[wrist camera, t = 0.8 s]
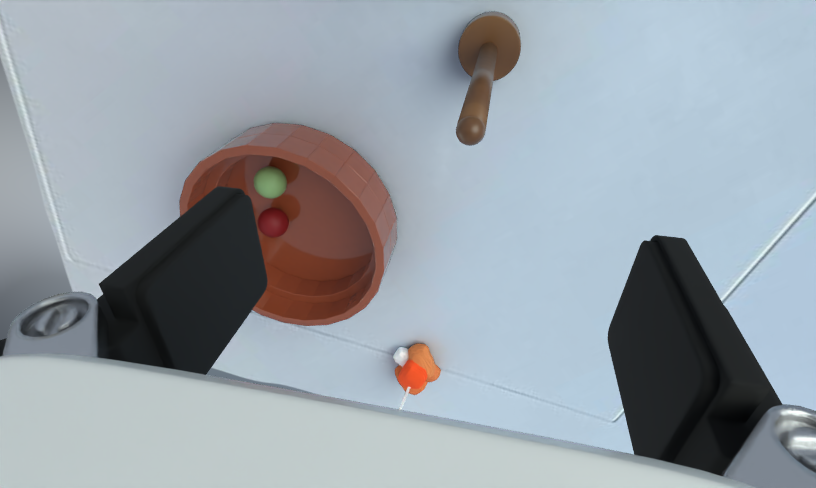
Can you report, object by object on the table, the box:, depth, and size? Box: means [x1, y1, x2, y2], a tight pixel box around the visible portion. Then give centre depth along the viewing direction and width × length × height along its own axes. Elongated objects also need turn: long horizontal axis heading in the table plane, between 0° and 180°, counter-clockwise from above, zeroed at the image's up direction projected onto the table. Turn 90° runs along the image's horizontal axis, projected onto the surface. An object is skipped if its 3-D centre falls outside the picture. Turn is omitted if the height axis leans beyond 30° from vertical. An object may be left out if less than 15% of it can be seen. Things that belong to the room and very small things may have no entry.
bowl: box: [179, 123, 397, 326], centre depth 43 cm, size 20×20×6 cm
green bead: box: [254, 166, 287, 199], centre depth 42 cm, size 3×3×3 cm
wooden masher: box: [456, 12, 521, 146], centre depth 26 cm, size 4×4×19 cm
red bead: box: [258, 208, 289, 238], centre depth 44 cm, size 3×3×3 cm
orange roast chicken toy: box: [393, 344, 441, 410], centre depth 50 cm, size 6×10×12 cm, turn 166°
